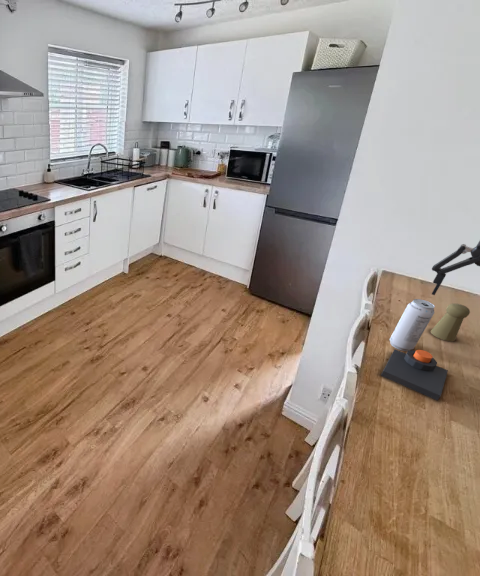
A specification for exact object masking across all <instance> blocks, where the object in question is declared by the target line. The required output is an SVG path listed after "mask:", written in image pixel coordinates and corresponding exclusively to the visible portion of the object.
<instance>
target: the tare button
mask: <svg viewBox="0 0 480 576" xmlns="http://www.w3.org/2000/svg"><path fill="white" fill-rule="evenodd" d="M415 351H416V352H415V354H414V355H413V357H414V358H415V359H417V360H419V361H421V362H424V363H429V362H430V361H431V359H432V358H434V356H433V355H432V354H431V353H430V352H428V351H426V350H423V349H416V350H415Z"/></svg>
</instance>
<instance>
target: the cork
mask: <svg viewBox="0 0 480 576" xmlns="http://www.w3.org/2000/svg"><path fill="white" fill-rule="evenodd" d="M470 313H471V311H470V308H469V307H468V306H465V305H463V304H460V303H453V302H452V303H450V304H448V305H447V306H446V308H445V313H444V314H443V316H442V317H441V318H440V319H439V321H438V322H437V323H436V324H435V325H434V326H433V327H432V329H431V330H430V333H431V335H432V336H434V337H436V338H437V339H440V340H443V341H447V342H454V341H456V339H457V336H458V334H459V331H460V328H461V326H462V324H463V321H464V319H465V318H467V317H468V316H469V315H470Z"/></svg>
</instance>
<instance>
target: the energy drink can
mask: <svg viewBox="0 0 480 576" xmlns="http://www.w3.org/2000/svg"><path fill="white" fill-rule="evenodd" d="M435 308H436V307H435V305H434V304H433V303H432V302H430V301H428V300H425V299H419V298H414V299H413V300H412V301H411V302H409V303H408V304H407V305H406V307H405V309H404V310H403V313H402V315H401V317H400V319H399V321H398V322H397V324H396V326H395V328H394V329H393V332H392V334H391V335H390V338H389V342H390V345H391V347H393V348H394V349H396V350H398V351H401V352H408V351H411V350H414V349H415V348H416V346H417V344H418V342H419V341H420V339H421V336H422V335H423V333H424V332H425V330H426V328H427V327H428V325H429V323H430V321H431V320H432V318H433V317H434V315H435Z"/></svg>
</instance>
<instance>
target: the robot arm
mask: <svg viewBox="0 0 480 576" xmlns="http://www.w3.org/2000/svg"><path fill="white" fill-rule="evenodd" d="M467 253H470V255H471V257H467V258H466V259H463V260H461V261H457V262H456V263H453V264H450V265H447V264H449V263H451V262H452V261H453V260H455V259H457V258H458V257H459V256H461V255H465V254H467ZM473 264H474V265H476V266H477V267H480V240H479V241H478V243H477V244H476V246H474V247H470V246H468V245H467V244H466V243H463V244H460V246H459V247H458V249H457V250H455V251H453V252H452V253H450V254H449V255H448V256H446V257H444V258H443V259H441V260H440V261H438V262H437V263H435V264H434V265H433V266H432V268H431V270H432V272H435V273H436V276H435V277H434V278H433V281H432V283H433V284H435V287H434V288H433V290H432V292H431V295H433V296H435V295H436V293H437V291H438V290H439V288H440V286H441V284H442V283H443V281H444V280H445V277H446V276H447V274H448V273H450V272H453V271H456V270H458V269H462V268H464V267H467V266H470V265H473ZM446 265H447V266H446ZM444 266H445V267H444Z"/></svg>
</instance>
